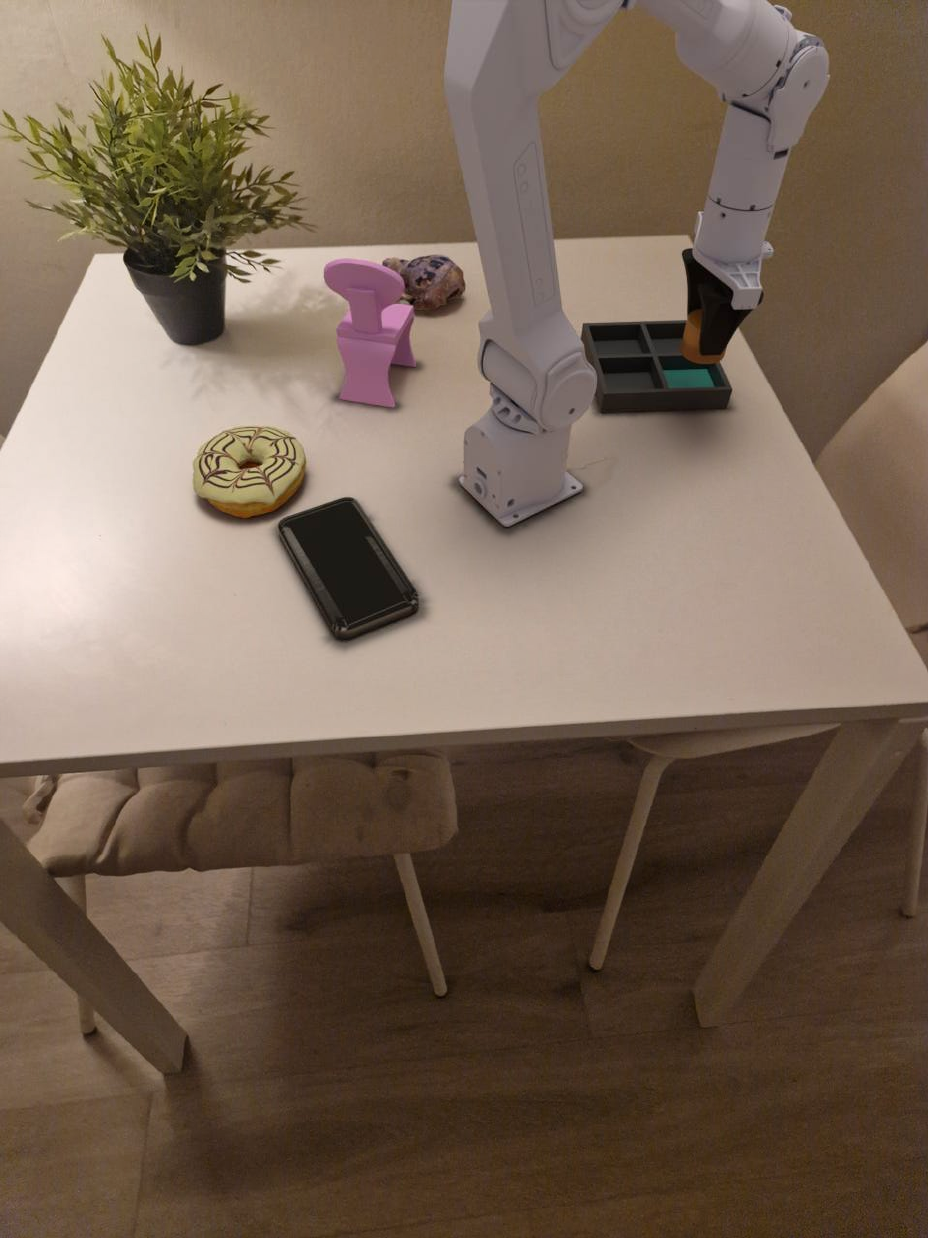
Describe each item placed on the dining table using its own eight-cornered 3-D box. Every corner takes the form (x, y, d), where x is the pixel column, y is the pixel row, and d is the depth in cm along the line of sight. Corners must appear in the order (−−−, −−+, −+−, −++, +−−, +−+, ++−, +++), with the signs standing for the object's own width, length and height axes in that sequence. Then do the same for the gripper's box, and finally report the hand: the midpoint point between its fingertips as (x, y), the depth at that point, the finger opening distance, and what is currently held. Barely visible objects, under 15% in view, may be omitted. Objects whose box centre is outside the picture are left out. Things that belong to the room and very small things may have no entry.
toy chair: (426, 364, 91) (421, 231, 79) (403, 409, 85) (394, 273, 74) (357, 353, 92) (342, 221, 80) (330, 397, 86) (310, 262, 75)
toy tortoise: (367, 281, 101) (370, 232, 97) (415, 271, 105) (419, 223, 101) (425, 325, 96) (431, 275, 91) (473, 312, 100) (481, 263, 95)
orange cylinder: (702, 369, 78) (710, 337, 75) (670, 348, 80) (678, 316, 77) (733, 355, 79) (743, 323, 77) (702, 335, 82) (710, 303, 79)
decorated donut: (183, 517, 75) (171, 486, 72) (219, 445, 81) (210, 414, 78) (291, 526, 74) (284, 496, 71) (319, 453, 80) (313, 422, 77)
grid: (727, 408, 86) (732, 389, 84) (600, 412, 85) (603, 393, 83) (695, 337, 94) (700, 319, 92) (580, 341, 94) (582, 322, 92)
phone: (336, 635, 64) (274, 520, 72) (338, 643, 65) (276, 529, 73) (424, 600, 66) (354, 493, 75) (424, 609, 67) (355, 502, 76)
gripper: (815, 234, 64) (765, 380, 74) (762, 160, 73) (724, 300, 83) (729, 236, 63) (691, 383, 74) (686, 162, 73) (658, 302, 83)
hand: (704, 339), depth 79 cm, fingers closed on orange cylinder, 4 cm apart
